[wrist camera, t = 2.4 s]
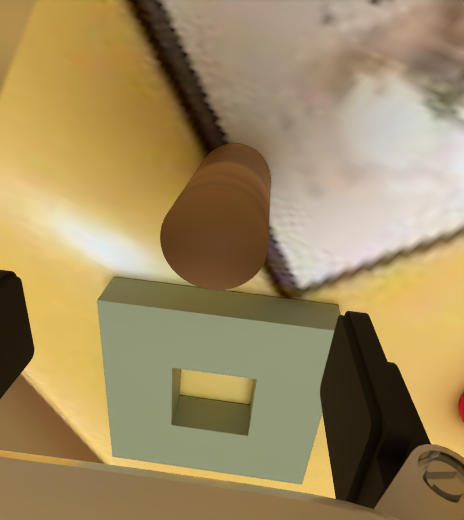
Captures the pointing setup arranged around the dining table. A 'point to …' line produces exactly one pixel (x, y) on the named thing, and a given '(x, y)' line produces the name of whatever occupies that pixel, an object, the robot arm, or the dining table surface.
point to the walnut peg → (220, 220)
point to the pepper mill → (461, 408)
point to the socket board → (219, 362)
